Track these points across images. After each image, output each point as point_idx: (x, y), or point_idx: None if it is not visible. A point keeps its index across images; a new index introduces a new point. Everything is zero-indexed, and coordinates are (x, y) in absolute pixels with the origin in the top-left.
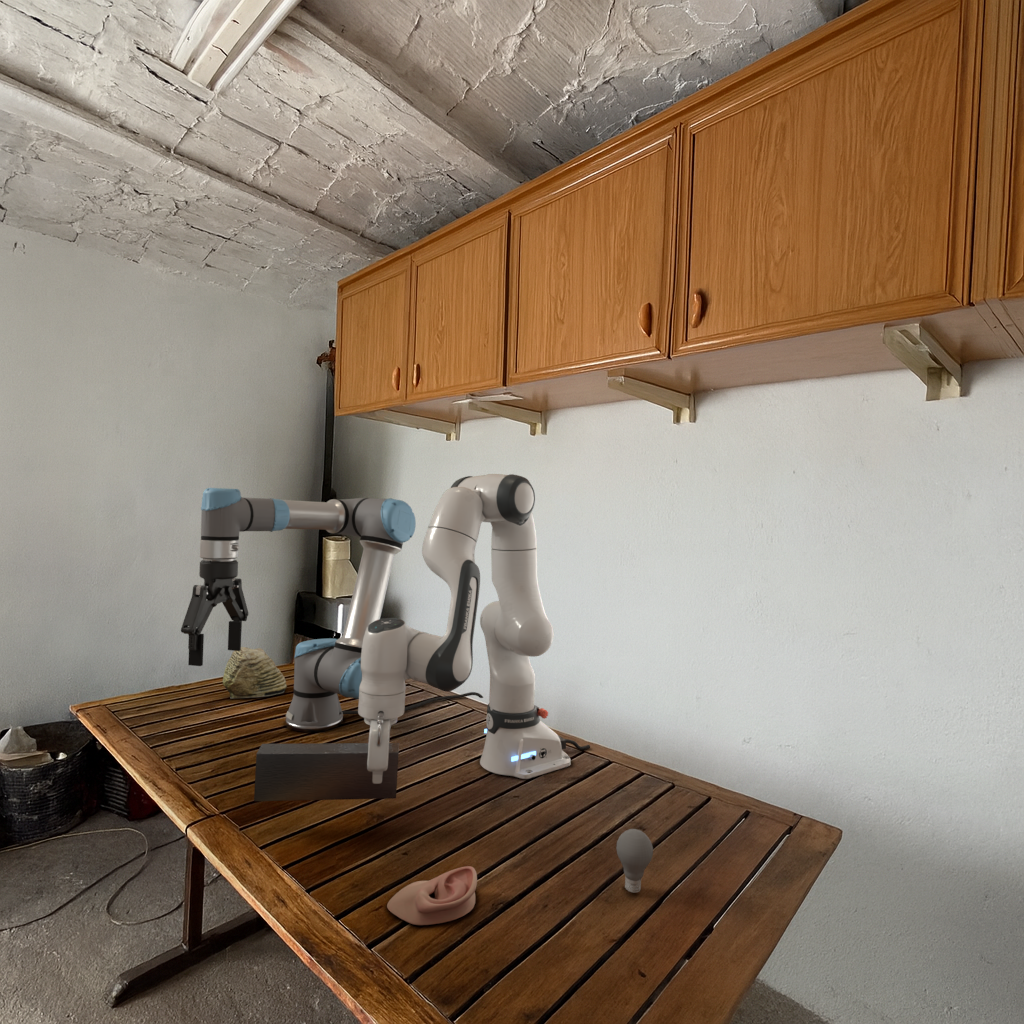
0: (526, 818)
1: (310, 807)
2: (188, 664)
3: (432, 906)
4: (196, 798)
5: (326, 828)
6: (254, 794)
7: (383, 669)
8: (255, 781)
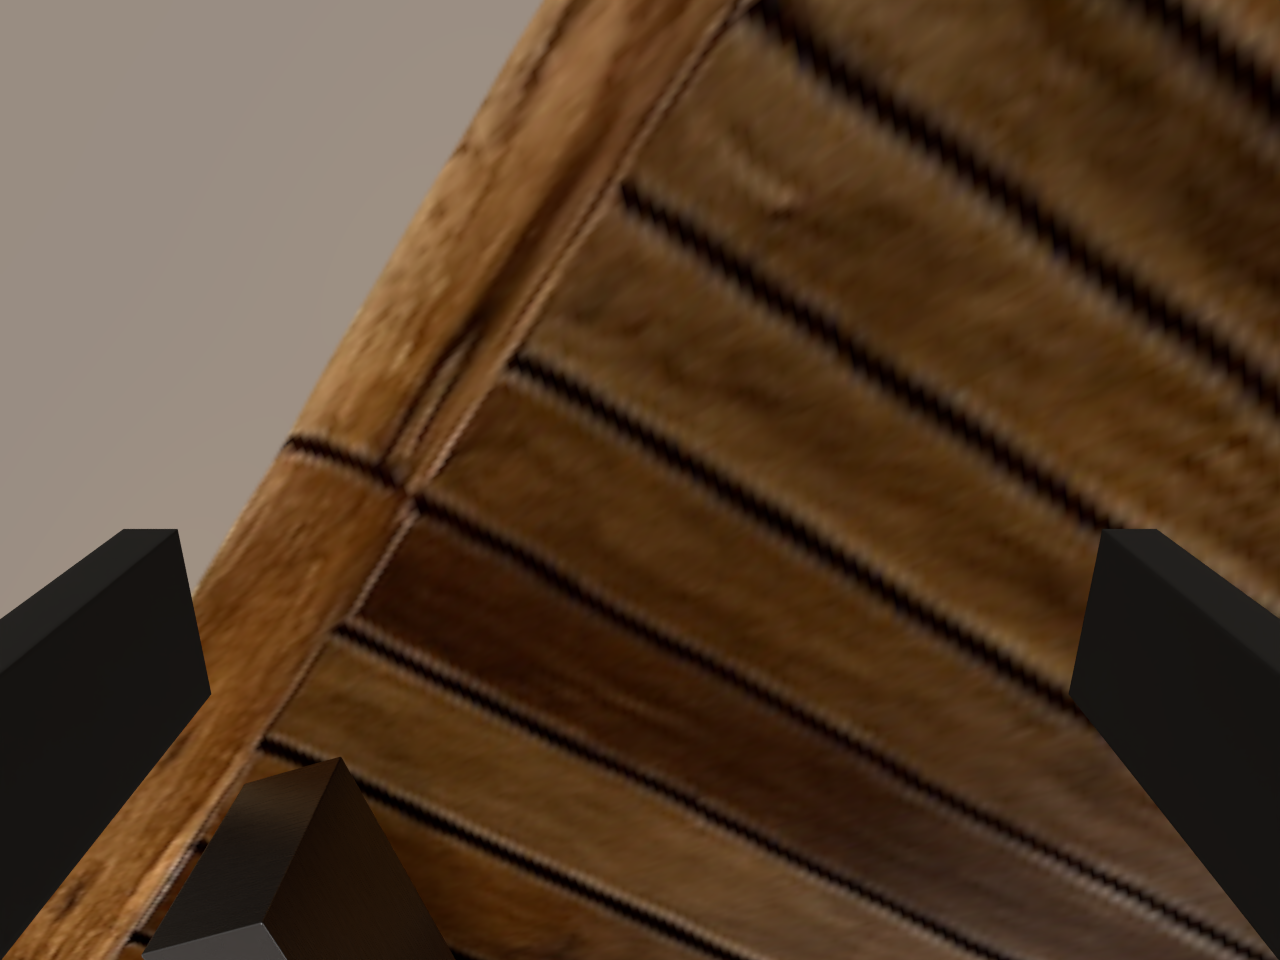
0: None
1: (557, 768)
2: (120, 533)
3: None
4: (494, 326)
5: (440, 864)
6: (232, 804)
7: None
8: (206, 848)
